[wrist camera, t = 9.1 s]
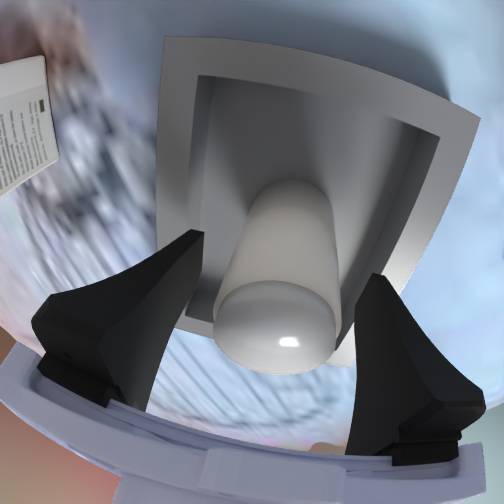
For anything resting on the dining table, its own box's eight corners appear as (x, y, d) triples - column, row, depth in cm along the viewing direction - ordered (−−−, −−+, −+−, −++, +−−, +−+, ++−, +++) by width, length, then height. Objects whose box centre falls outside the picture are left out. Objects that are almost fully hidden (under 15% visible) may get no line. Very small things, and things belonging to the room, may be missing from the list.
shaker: (344, 192, 14) (365, 314, 8) (319, 260, 17) (315, 385, 11) (258, 170, 14) (211, 277, 8) (244, 241, 17) (203, 360, 11)
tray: (452, 105, 11) (480, 117, 8) (347, 334, 21) (349, 367, 19) (192, 39, 11) (165, 36, 9) (177, 294, 22) (162, 324, 19)
